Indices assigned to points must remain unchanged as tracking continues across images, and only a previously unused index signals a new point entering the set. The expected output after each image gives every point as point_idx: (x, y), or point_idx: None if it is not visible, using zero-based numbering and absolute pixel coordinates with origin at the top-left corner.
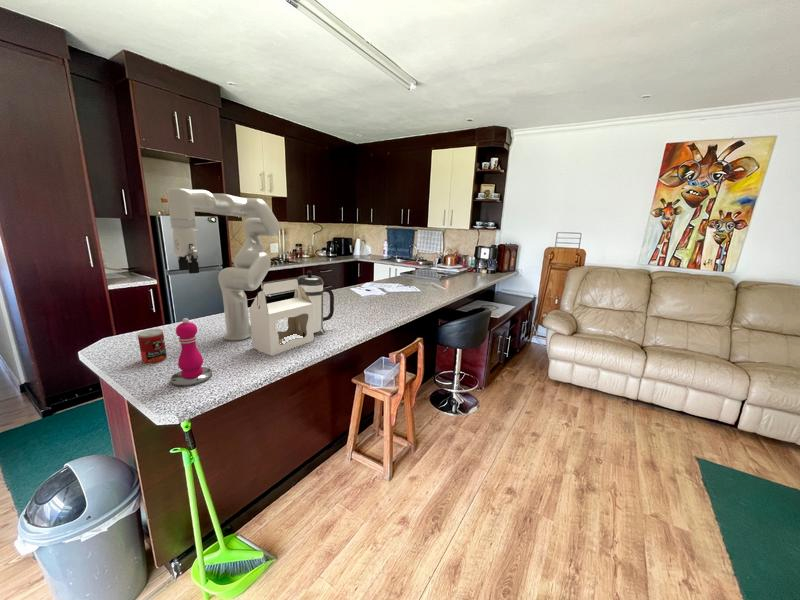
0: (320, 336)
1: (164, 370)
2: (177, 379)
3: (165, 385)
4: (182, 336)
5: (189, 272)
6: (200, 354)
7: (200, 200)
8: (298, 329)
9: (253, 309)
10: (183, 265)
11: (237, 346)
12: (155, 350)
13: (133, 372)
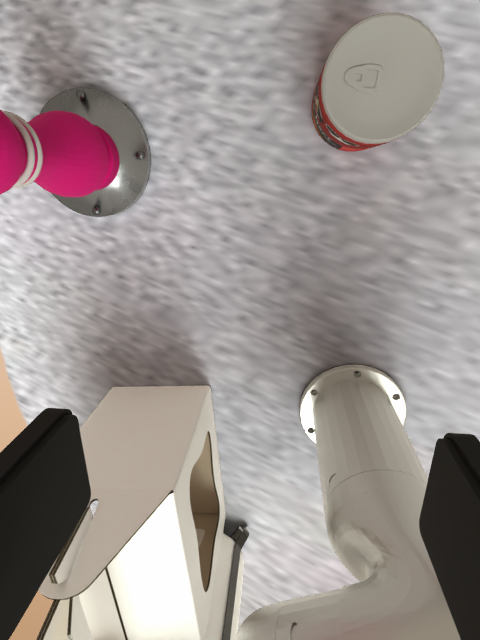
0: None
1: (219, 105)
2: (80, 107)
3: (91, 71)
4: None
5: (43, 413)
6: (45, 188)
7: None
8: (203, 531)
9: (139, 490)
10: (459, 533)
11: (257, 361)
12: (315, 96)
13: (281, 6)
